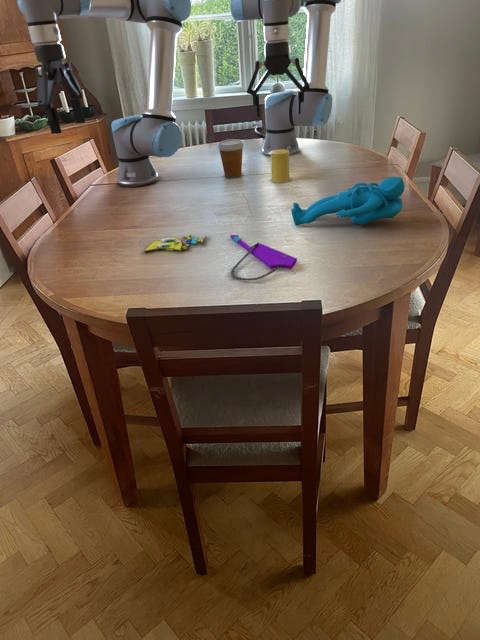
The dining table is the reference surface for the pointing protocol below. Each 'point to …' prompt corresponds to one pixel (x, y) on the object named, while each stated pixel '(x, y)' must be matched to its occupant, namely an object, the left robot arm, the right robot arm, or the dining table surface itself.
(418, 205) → the dining table surface
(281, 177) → the can
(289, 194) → the dining table surface
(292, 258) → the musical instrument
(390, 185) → the toy
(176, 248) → the toy
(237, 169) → the disposable coffee cup
